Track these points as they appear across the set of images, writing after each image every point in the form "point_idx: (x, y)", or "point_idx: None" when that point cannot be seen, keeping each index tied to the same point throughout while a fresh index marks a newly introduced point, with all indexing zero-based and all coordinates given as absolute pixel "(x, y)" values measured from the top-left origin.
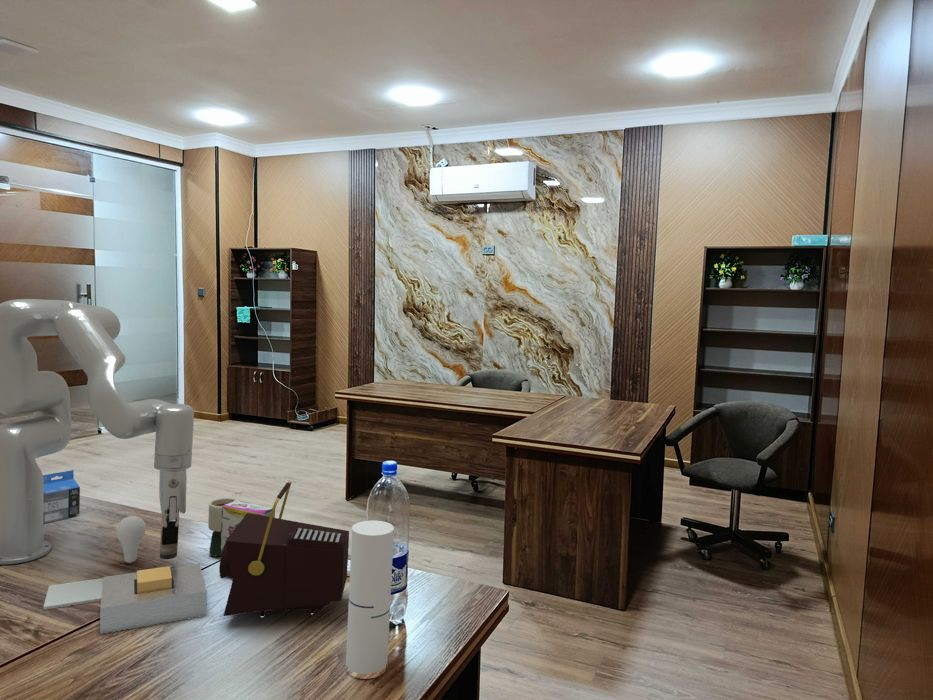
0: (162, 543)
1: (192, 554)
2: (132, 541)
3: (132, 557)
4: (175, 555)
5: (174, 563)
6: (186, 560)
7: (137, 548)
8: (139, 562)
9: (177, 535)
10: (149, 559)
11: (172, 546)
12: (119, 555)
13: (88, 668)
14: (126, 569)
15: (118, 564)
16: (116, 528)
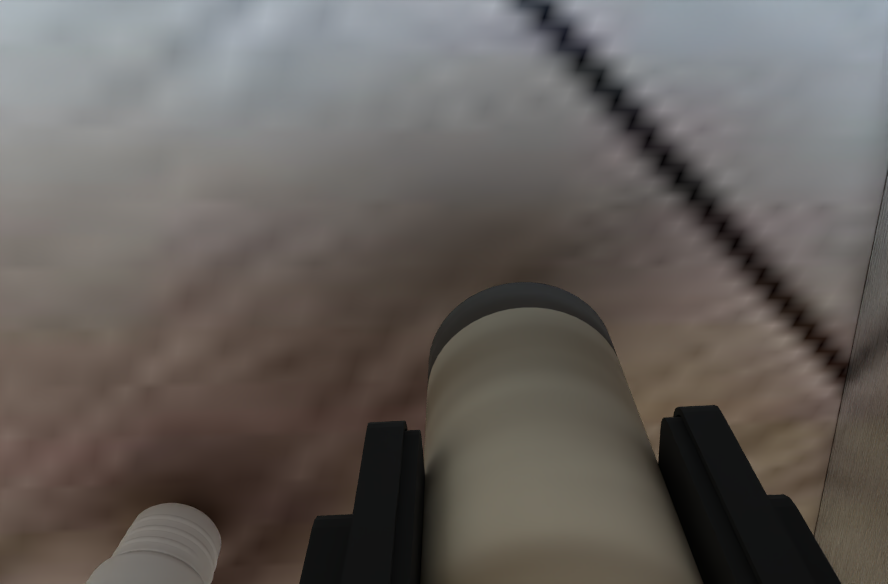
0: None
1: (38, 41)
2: None
3: (209, 551)
4: (582, 308)
5: (259, 216)
6: (202, 106)
7: (158, 578)
8: (185, 465)
9: (755, 491)
10: (130, 404)
11: (640, 420)
12: (25, 578)
13: None
14: (308, 532)
15: None
16: None
